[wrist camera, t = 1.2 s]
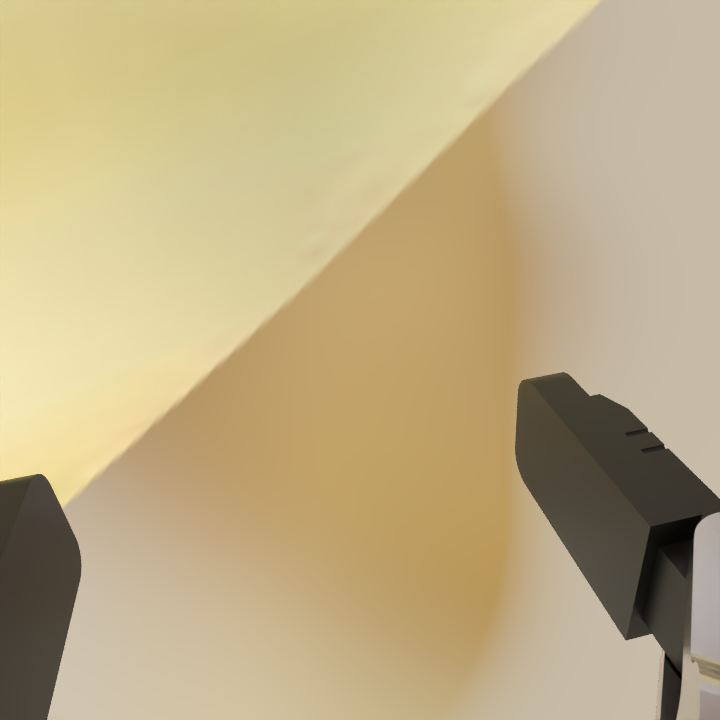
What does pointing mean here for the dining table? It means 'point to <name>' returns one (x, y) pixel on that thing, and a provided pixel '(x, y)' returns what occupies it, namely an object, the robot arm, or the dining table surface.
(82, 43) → the dining table surface
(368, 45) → the dining table surface
